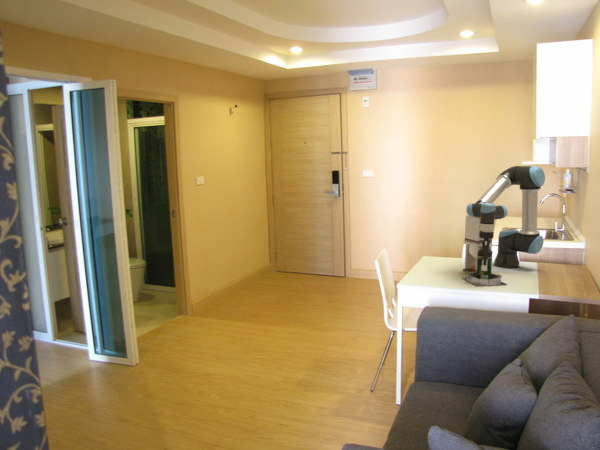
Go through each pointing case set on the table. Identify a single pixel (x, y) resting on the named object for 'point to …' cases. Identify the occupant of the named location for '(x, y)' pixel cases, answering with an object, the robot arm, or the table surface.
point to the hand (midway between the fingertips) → (484, 268)
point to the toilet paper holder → (472, 243)
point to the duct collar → (483, 280)
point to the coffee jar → (481, 273)
